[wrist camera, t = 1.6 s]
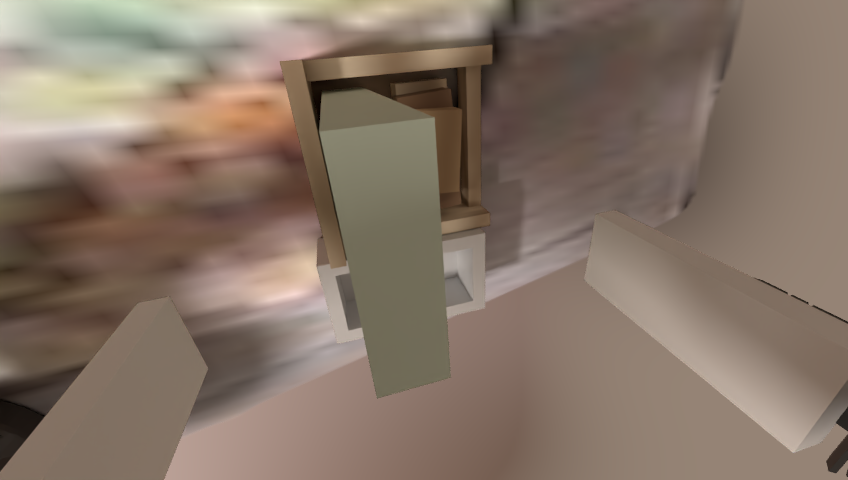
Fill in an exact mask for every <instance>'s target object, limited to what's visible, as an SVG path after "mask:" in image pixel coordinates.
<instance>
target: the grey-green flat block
mask: <svg viewBox="0 0 848 480" xmlns="http://www.w3.org/2000/svg"><path fill="white" fill-rule="evenodd" d="M319 133H320V138H321V142H322V147H323V151H324V156H325V161H326V165H327V170H328V174H329V179H330V184H331V188H332V193H333V197H334V202H335V207H336V211H337V216H338V220H339V225H340V230H341V234H342V239H343V244H344V248H345V253H346V257H347V262H348V267H349V271H350V276H351V280H352V285H353V290H354V294H355V299H356V303H357V308H358V313H359V317H360V322H361V326H362V331H363V336H364V340H365V345H366V349H367V354H368V359H369V363H370V368H371V372H372V377H373V382H374V386H375V391H376V396H377V398H381V397H384V396H388V395H391V394H394V393H398V392H402V391H405V390H409V389H412V388H416V387H419V386H423V385H426V384H430V383H434V382H437V381H441V380H444V379H448V378H450V377H451V374H450V359H449V342H448V326H447V310H446V294H445V277H444V261H443V245H442V229H441V213H440V197H439V181H438V165H437V149H436V132H435V117H432V116H430V115H428V114H425V113H423V112H421V111H418V110H416V109H413V108H411V107H409V106H406V105H404V104H401V103H399V102H397V101H394V100H392V99H389V98H387V97H385V96H382V95H380V94H377V93H375V92H373V91H370V90H368V89H365V88H363V87H355V88H345V89H335V90H325V91H322V98H321V113H320V127H319Z"/></svg>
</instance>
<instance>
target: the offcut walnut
mask: <svg viewBox="0 0 848 480" xmlns="http://www.w3.org/2000/svg"><path fill="white" fill-rule="evenodd" d="M392 100H394V101H397V102H399V103H401V104H404V105H406V106H409V107H411V108H413V109H424V108H445V107H453V105H452V94H451V89H450V88H444V87H441V88H436V89H430V90H425V91H419V92H413V93H408V94H402V95H396V96H392ZM439 197H440V209H443V208H447V207H451V206H455V205H459V204H462V203H461V192H460V184H459V192H450V193H440V194H439Z"/></svg>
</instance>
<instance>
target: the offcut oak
mask: <svg viewBox="0 0 848 480" xmlns="http://www.w3.org/2000/svg"><path fill="white" fill-rule="evenodd" d="M416 110H418V111H421V112H423V113H425V114H428V115H430V116H432V117H435V132H436V149H437V165H438V181H439V194H440V193H450V192H459V184H460V156H461V129H462V109H460V108H456V107H445V108H424V109H416Z"/></svg>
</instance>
